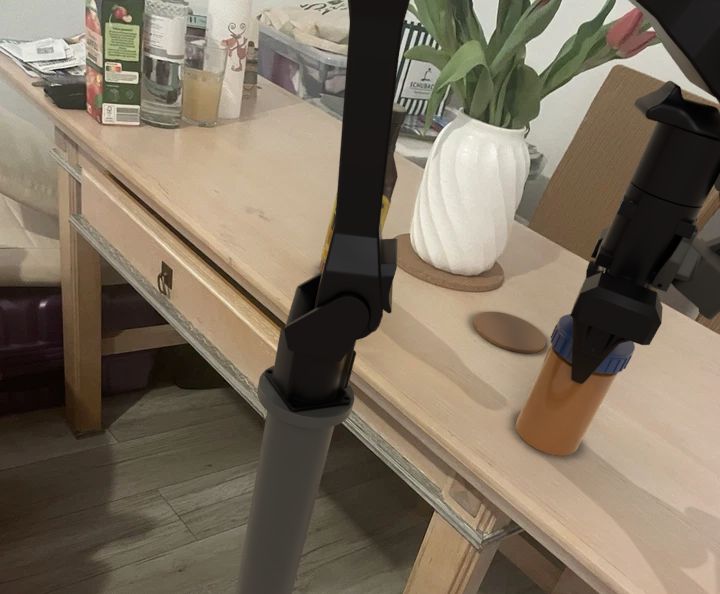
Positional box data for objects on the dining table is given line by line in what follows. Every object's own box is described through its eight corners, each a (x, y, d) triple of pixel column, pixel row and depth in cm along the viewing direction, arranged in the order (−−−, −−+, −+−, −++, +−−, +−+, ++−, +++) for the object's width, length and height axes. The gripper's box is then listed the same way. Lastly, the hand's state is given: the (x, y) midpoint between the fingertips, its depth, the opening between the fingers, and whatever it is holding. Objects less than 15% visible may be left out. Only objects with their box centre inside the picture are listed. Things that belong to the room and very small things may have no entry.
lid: (637, 361, 63) (647, 343, 62) (605, 382, 59) (615, 363, 57) (571, 325, 66) (580, 307, 65) (536, 342, 62) (544, 323, 60)
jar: (544, 460, 65) (593, 364, 58) (502, 420, 69) (544, 325, 62) (590, 450, 68) (642, 357, 61) (548, 411, 72) (592, 320, 65)
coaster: (504, 356, 79) (505, 353, 79) (459, 316, 84) (460, 313, 84) (559, 350, 84) (560, 347, 83) (513, 312, 89) (514, 309, 89)
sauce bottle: (311, 278, 83) (347, 97, 71) (326, 260, 88) (361, 88, 75) (363, 295, 83) (408, 116, 70) (375, 276, 88) (418, 106, 75)
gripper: (784, 265, 45) (665, 451, 55) (760, 199, 59) (669, 356, 69) (619, 208, 47) (532, 398, 57) (634, 157, 61) (562, 316, 71)
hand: (581, 365), depth 63 cm, fingers closed on lid, 7 cm apart
